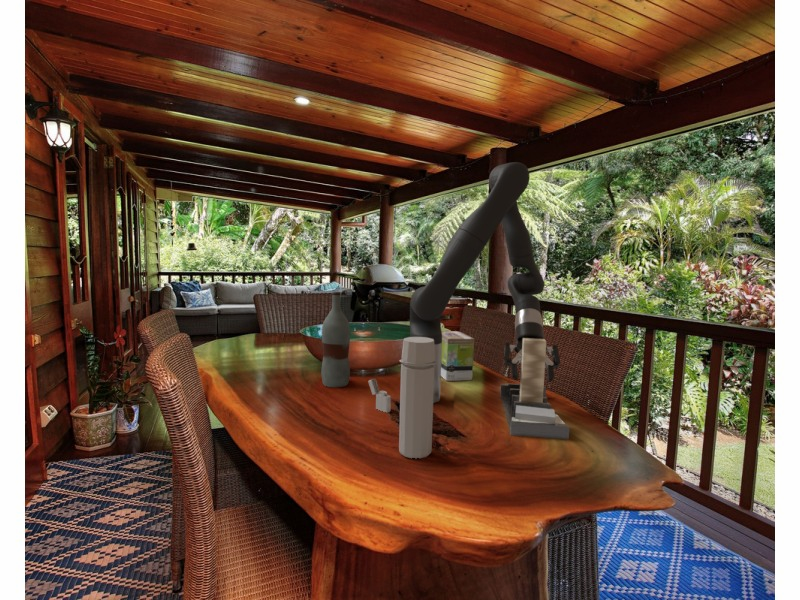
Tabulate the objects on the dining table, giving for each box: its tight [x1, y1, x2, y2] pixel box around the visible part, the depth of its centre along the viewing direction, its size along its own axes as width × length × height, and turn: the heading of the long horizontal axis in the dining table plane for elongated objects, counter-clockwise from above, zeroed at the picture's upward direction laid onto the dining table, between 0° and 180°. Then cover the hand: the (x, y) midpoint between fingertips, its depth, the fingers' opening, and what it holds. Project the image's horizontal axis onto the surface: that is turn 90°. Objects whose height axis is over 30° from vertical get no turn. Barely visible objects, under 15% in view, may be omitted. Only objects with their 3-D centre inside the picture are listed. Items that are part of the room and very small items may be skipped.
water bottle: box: [398, 336, 437, 460], centre depth 98 cm, size 9×8×25 cm
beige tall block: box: [519, 338, 547, 403], centre depth 119 cm, size 6×3×20 cm, turn 82°
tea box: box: [441, 330, 475, 382], centre depth 161 cm, size 15×10×15 cm, turn 13°
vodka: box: [320, 291, 351, 388], centre depth 146 cm, size 9×9×30 cm
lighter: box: [367, 378, 392, 414], centre depth 125 cm, size 7×2×8 cm, turn 51°
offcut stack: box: [512, 405, 566, 425], centre depth 109 cm, size 11×7×4 cm, turn 82°
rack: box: [499, 382, 570, 440], centre depth 120 cm, size 13×31×6 cm, turn 172°
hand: (533, 379), depth 117 cm, fingers open, 8 cm apart
